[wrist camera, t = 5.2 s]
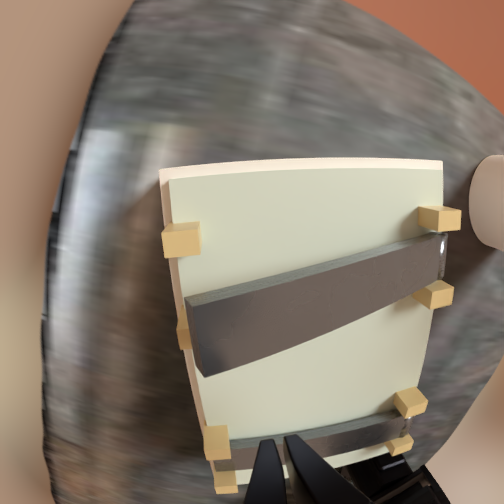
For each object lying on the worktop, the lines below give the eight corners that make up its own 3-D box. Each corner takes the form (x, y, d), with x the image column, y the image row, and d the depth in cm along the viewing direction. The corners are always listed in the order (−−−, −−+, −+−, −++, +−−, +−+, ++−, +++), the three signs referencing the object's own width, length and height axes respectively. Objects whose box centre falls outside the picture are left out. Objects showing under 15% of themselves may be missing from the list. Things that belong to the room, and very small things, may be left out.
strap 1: (434, 230, 15) (449, 233, 14) (430, 273, 16) (445, 277, 15) (182, 296, 9) (193, 307, 8) (194, 363, 10) (205, 380, 9)
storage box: (375, 411, 26) (411, 466, 18) (213, 439, 24) (217, 509, 17) (398, 160, 20) (472, 162, 13) (172, 169, 18) (147, 169, 11)
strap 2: (409, 404, 18) (416, 412, 17) (402, 426, 19) (408, 435, 18) (210, 440, 17) (210, 451, 16) (215, 461, 18) (216, 472, 17)
